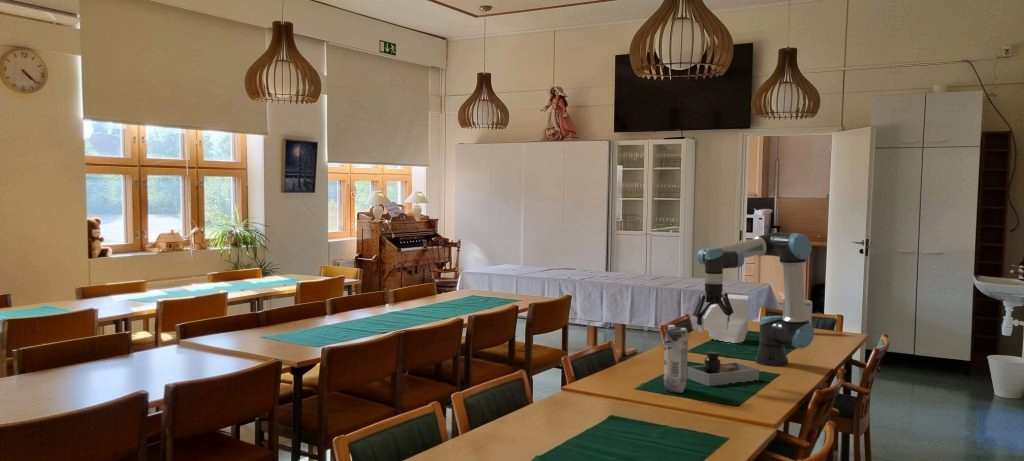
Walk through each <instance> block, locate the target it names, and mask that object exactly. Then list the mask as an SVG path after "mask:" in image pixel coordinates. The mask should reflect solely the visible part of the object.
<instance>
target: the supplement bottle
mask: <svg viewBox="0 0 1024 461" xmlns="http://www.w3.org/2000/svg"><path fill="white" fill-rule="evenodd" d="M703 363H704V365H703V366H704V372H705V373H708V374H715V373H720V364H721V360H720V359H719V352H716V351H707V352H706V357H705V359H704V361H703Z"/></svg>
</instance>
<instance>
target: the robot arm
mask: <svg viewBox="0 0 1024 461" xmlns="http://www.w3.org/2000/svg"><path fill="white" fill-rule="evenodd" d="M811 253H812V243H811V241H810V239H809V238H808V237H807V236H806V234H802V233H797V232H780V231H779V232H771V233H766V234H762V235H758V236H755V237H753V238H752V239H750V240H749V239H748V240H745V241H741V242H737V243H732V244H727V245H723V246H718V247H712V246H711V247H707V248H701V249H699V250H698V252H697V254H696V261H697V262H698V264H700V265H702V266H704V282H705V283H704V292H705V294H701V293H700V294H699V297H698V300H697V303H696V306H695V309H694V312H693V314H692V315H693V316H694V317H695V318H696V322H697V323H696V324H697V331H698V333H702V334H703V333H705V332H704V331H705V330H704V318H703V317H704V316H705V314H706V313H707V311H708V310H709V308H710V306H711V305H713V304H718V305H719V307H720V308H721V309H722V311H723V312H724V314H725V315H723V329H724V330H728V322H729V315H731V313H733V309H732V307H731V304H730V302H729V299H728V294H729V293H727V292H723V291H724V290H723V287H724V284H723V281H724V275H723V274H724V270H725V269H737V268H741V267H742V266H744V264H745V259H746V258H750V257H755V256H757V257H763V256H771V257H778V258H779V263H780V264H781V265H782V266H783V268H782V269H783V289H784V290H783V291H784V299H785V316H783V315H768V316H762V317H761V318H760V322H759V323H760V324H759V345H758V346H759V347H758V349H757V353H756V355H755V358H754V359H755V363H757V364H760V365H764V366H770V367H772V366H773V367H783V366H787V365H788V364H789V359H788V355H787V351H786V346H789V347H793V348H799V349H805V348H807V347H809V346H810V345H811V343H812V342H813V341H814V337H815V329H814V327H813V326H812V324H811V325H810V324H808V318H807V317H806V316H805V311H804V300H805V288H804V265H805V264H806V263H807V259H808V258H809V257H810V255H811ZM721 298H722V299H723V301H724V304H725V305H724V304H723V301H722V300H721Z"/></svg>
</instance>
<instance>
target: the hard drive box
mask: <svg viewBox="0 0 1024 461" xmlns="http://www.w3.org/2000/svg"><path fill="white" fill-rule="evenodd" d="M782 302H783V303H782V316H785V298H783V301H782ZM804 311H805V316H806V317H807V318H808V324H810V325H811V326H812V318H813V316H812V315H813V301H812V300H809V299H804Z"/></svg>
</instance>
